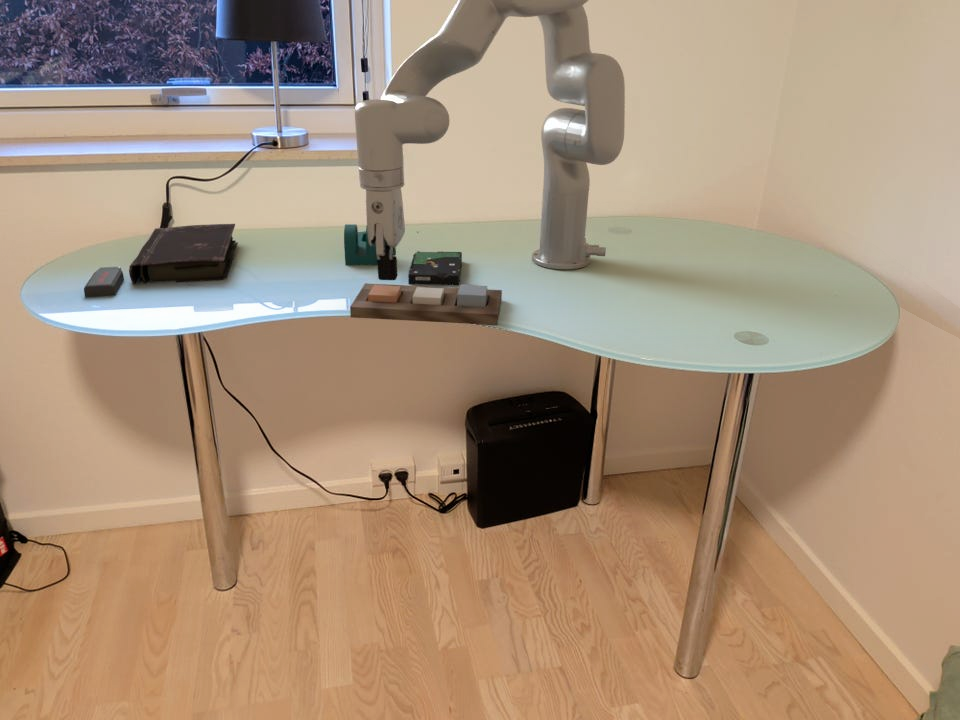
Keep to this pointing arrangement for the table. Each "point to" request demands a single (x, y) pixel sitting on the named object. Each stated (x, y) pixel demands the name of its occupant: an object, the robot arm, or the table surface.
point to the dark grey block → (104, 282)
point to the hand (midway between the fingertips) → (388, 278)
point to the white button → (428, 296)
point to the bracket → (358, 247)
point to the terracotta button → (385, 294)
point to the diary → (186, 254)
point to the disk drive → (435, 268)
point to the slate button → (472, 296)
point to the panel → (427, 307)
